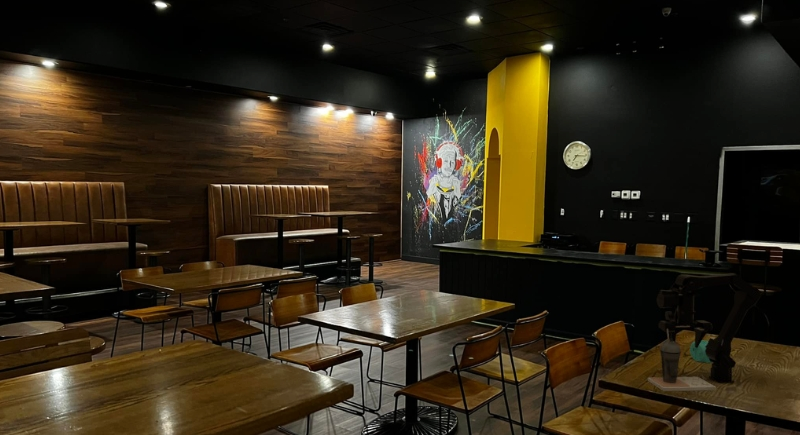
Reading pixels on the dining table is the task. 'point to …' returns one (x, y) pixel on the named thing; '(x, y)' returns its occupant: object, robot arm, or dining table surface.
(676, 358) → the beverage cup
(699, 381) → the baseplate
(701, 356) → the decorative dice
